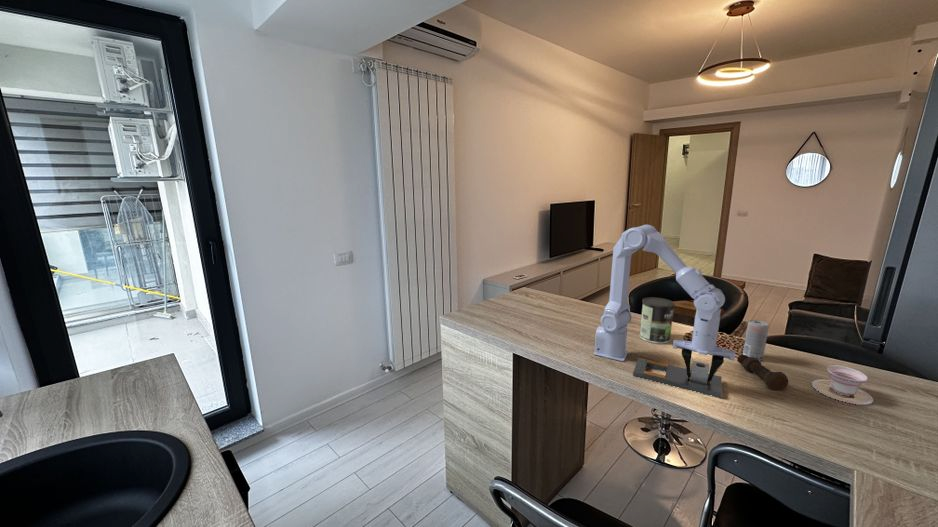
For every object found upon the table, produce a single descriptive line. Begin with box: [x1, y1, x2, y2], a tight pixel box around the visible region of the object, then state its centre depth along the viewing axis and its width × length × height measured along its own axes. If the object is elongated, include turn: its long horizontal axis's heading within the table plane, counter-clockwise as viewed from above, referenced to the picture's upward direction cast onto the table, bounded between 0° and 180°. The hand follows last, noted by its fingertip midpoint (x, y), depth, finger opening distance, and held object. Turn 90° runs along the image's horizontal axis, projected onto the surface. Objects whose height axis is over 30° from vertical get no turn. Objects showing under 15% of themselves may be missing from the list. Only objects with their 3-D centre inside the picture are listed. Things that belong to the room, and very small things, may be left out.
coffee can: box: [639, 296, 675, 345], centre depth 135 cm, size 10×10×14 cm
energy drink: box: [742, 319, 770, 362], centre depth 120 cm, size 5×5×12 cm
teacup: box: [811, 364, 874, 406], centre depth 101 cm, size 12×12×6 cm
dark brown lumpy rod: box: [737, 354, 790, 392], centre depth 109 cm, size 6×5×15 cm
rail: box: [632, 357, 723, 399], centre depth 109 cm, size 22×10×2 cm, turn 57°
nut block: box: [689, 360, 710, 386], centre depth 106 cm, size 4×4×6 cm
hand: (699, 376), depth 106 cm, fingers open, 5 cm apart
